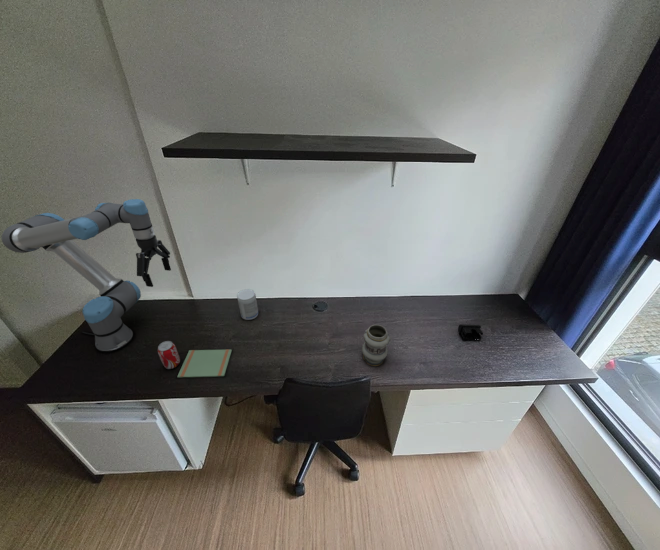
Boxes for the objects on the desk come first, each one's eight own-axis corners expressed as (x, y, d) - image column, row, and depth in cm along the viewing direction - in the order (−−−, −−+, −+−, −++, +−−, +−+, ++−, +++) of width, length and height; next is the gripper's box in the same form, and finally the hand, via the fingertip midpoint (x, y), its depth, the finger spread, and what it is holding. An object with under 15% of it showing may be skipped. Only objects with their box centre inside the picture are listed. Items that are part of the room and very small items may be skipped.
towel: (177, 377, 126) (177, 376, 126) (189, 351, 139) (189, 350, 138) (224, 376, 127) (223, 375, 127) (232, 350, 140) (231, 349, 140)
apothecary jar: (355, 355, 140) (358, 328, 130) (373, 344, 146) (378, 317, 136) (372, 372, 132) (377, 344, 122) (391, 360, 138) (397, 333, 128)
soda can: (176, 370, 129) (169, 352, 123) (161, 370, 129) (152, 351, 123) (183, 358, 135) (177, 339, 128) (168, 357, 135) (161, 339, 128)
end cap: (474, 331, 156) (478, 322, 152) (480, 341, 150) (484, 331, 146) (456, 331, 155) (459, 321, 152) (461, 341, 150) (465, 331, 146)
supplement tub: (261, 311, 164) (258, 290, 156) (253, 322, 156) (250, 301, 148) (246, 308, 166) (242, 287, 158) (237, 318, 158) (233, 297, 150)
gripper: (133, 251, 112) (149, 294, 124) (170, 225, 133) (181, 264, 145) (115, 249, 113) (133, 292, 125) (155, 224, 134) (167, 263, 145)
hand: (159, 277), depth 135 cm, fingers open, 13 cm apart
